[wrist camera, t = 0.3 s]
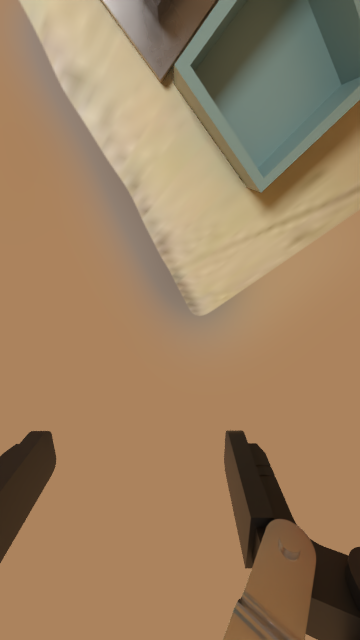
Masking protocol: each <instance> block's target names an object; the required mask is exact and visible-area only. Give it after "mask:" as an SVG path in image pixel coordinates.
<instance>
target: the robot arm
mask: <svg viewBox="0 0 360 640" xmlns="http://www.w3.org/2000/svg"><path fill="white" fill-rule="evenodd" d="M224 463H225V472H226V477H227V482H228V487H229V491H230V496H231V501H232V506H233V511H234V516H235V520H236V525H237V530H238V535H239V540H240V545H241V549H242V554H243V559H244V564H245V568H252V571H251V573H250V576H249V579H248V582H247V584H246V587H245V590H244V593H243V595H242V597H241V599H239V600H238V602H237V604H236V606H235V608H234V611H233V613H232V616H231V619H230V622H229V625H228V627H227V630H226V633H225V636H224V639H223V640H305V634H307V635H309V636H311V637H313V638H316V639H318V640H360V547H356V548H354V549H352V550H351V552H350V554H349V556H348V555H345V554H342V553H340V552H337V551H334V550H332V549H329V548H326V547H323V546H321V545H319V544H317V543H316V542H314V541H312V540H311V539H310V538H309V537H308V536H307V535H306V534H305V532H304V531H303V530H302V529H301V528H300V527H299V526H297V524H296V523H295V521H294V519H293V517H292V515H291V512H290V510H289V508H288V505H287V503H286V501H285V498H284V496H283V494H282V492H281V489H280V487H279V484H278V482H277V480H276V478H275V476H274V473H273V470H272V468H271V467H270V463H269V461H268V459H267V456H266V454H265V453H264V452H263V450H262V449H261V448H260V447H259V446H258V445H257V444H248V442H247V440H246V437H245V434H244V432H243V431H226V438H225V454H224ZM55 465H56V455H55V449H54V444H53V439H52V434H51V432H49V431H31V432H30V433H29V434H28V435H27V436H26V437H25V438H24V439H23V441H22V442H21V443H20V444H16V445H15V446H13V447H12V448H10V449H9V450H7V451H6V452H5V453H4V454H2V455H1V456H0V563H1V561H2V559H3V557H4V556H5V554H6V552H7V551H8V549H9V547H10V546H11V544H12V542H13V540H14V539H15V537H16V535H17V534H18V531H19V530H20V528H21V527H22V525H23V523H24V522H25V520H26V518H27V516H28V515H29V513H30V511H31V509H32V507H33V506H34V504H35V502H36V501H37V499H38V497H39V496H40V494H41V492H42V490H43V489H44V487H45V485H46V484H47V482H48V480H49V479H50V477H51V475H52V473H53V471H54V468H55Z"/></svg>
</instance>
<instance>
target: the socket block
mask: <svg viewBox="0 0 360 640" xmlns="http://www.w3.org/2000/svg"><path fill="white" fill-rule="evenodd" d="M101 1H102V3H103V4H104V5H105V7H106V8H107V10H108V11H109V12H110V14H111V15H112V16H113V18H114V19H115V21H116V22H117V23H118V25H119V26H120V27H121V29H122V30H123V32H124V33H125V34H126V36H127V37H128V39H129V40H130V41H131V43H132V44H133V45H134V47H135V48H136V50H137V51H138V52H139V54H140V55H141V56H142V58H143V59H144V61H145V62H146V63H147V65H148V66H149V67H150V69H151V70H152V72H153V73H154V74H155V76H156V77H157V78H158V80H159V81H160V83H161V82H162V81H163V80H164V78H165V77H166V75H167V74H168V72H169V71H170V69H171V68H172V67H173V65H174V64H175V62H176V61H177V59H178V58H179V56H180V55H181V54H182V52H183V51H184V49H185V48H186V46H187V45H188V43H189V42H190V41H191V39H192V38H193V36H194V35H195V33H196V32H197V30H198V29H199V28H200V26H201V25H202V23H203V22H204V20H205V19H206V18H207V16H208V15H209V13H210V12H211V10H212V9H213V7H214V6H215V5H216V3H217V2H218V0H101Z"/></svg>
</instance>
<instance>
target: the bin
mask: <svg viewBox="0 0 360 640" xmlns="http://www.w3.org/2000/svg"><path fill="white" fill-rule="evenodd" d="M174 84H175V86H176V87H177V89H178V90H179V92H180V93H181V94H182V96H183V97H184V99H185V100H186V102H187V103H188V104H189V106H190V107H191V109H192V110H193V111H194V113H195V114H196V116H197V117H198V119H199V120H200V121H201V123H202V124H203V126H204V127H205V129H206V130H207V131H208V133H209V134H210V136H211V137H212V139H213V140H214V141H215V143H216V144H217V146H218V147H219V148H220V150H221V151H222V153H223V154H224V156H225V157H226V158H227V160H228V161H229V163H230V164H231V166H232V167H233V168H234V170H235V171H236V173H237V174H238V175H239V177H240V178H241V180H242V181H243V183H244V184H245V185H246V187H247V188H250V189H252V190H255V191H258V192H260V193H261V192H262V191H263V190H264V189H265V188H267V187H268V186H269V185H270V184H271V183H272V182H273V181H274V180H275V179H276V178H277V177H278V176H279V175H280V174H281V173H282V172H284V171H285V170H286V169H287V168H288V167H289V166H290V165H291V164H292V163H293V162H294V161H295V160H296V159H297V158H298V157H299V156H301V155H302V154H303V153H304V152H305V151H306V150H307V149H308V148H309V147H310V146H311V145H312V144H313V143H314V142H315V141H316V140H318V139H319V138H320V137H321V136H322V135H323V134H324V133H325V132H326V131H327V130H328V129H329V128H330V127H331V126H332V125H333V124H335V123H336V122H337V121H338V120H339V119H340V118H341V117H342V116H343V115H344V114H345V113H346V112H347V111H348V110H349V109H350V108H352V107H353V106H354V105H355V104H356V103H357V102H358V101H359V100H360V0H219V1H218V3H217V4H216V6H215V7H214V8H213V10H212V11H211V13H210V14H209V16H208V17H207V19H206V20H205V21H204V23H203V24H202V26H201V27H200V29H199V30H198V31H197V33H196V34H195V36H194V37H193V39H192V40H191V42H190V43H189V44H188V46H187V47H186V49H185V50H184V52H183V53H182V55H181V56H180V57H179V59H178V60H177V62H176V63H175V65H174Z"/></svg>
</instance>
